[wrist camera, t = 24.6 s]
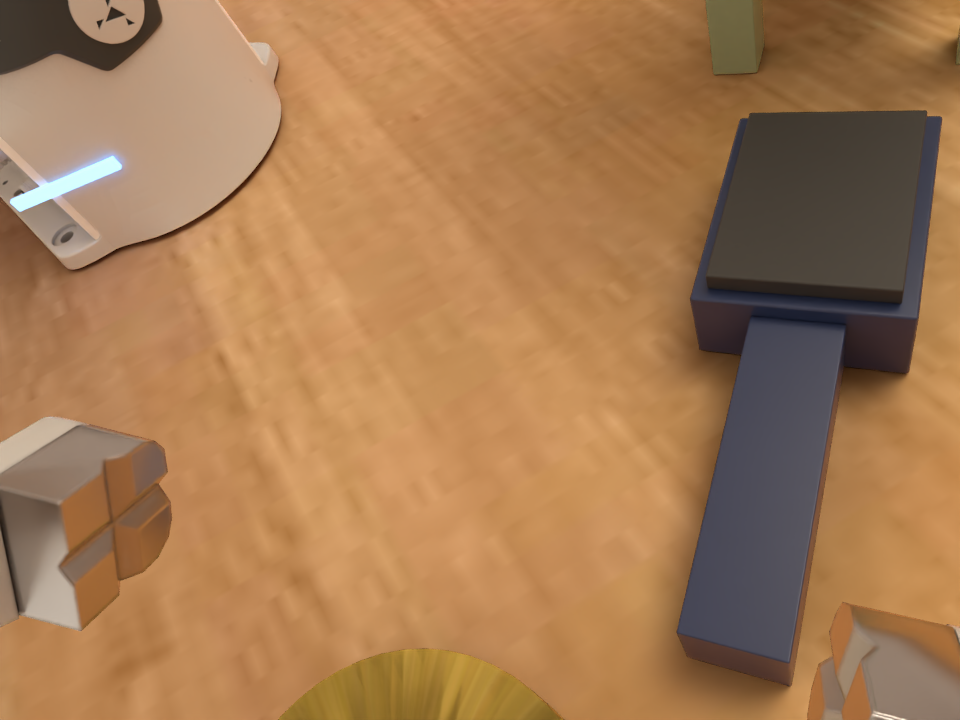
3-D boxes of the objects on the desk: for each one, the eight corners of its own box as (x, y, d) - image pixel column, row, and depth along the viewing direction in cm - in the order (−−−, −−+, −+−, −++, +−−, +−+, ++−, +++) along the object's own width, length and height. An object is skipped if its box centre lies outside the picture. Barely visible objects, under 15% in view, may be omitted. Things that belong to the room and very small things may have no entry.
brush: (868, 708, 22) (877, 673, 19) (623, 639, 26) (598, 599, 22) (932, 179, 31) (945, 99, 28) (744, 176, 34) (738, 103, 31)
